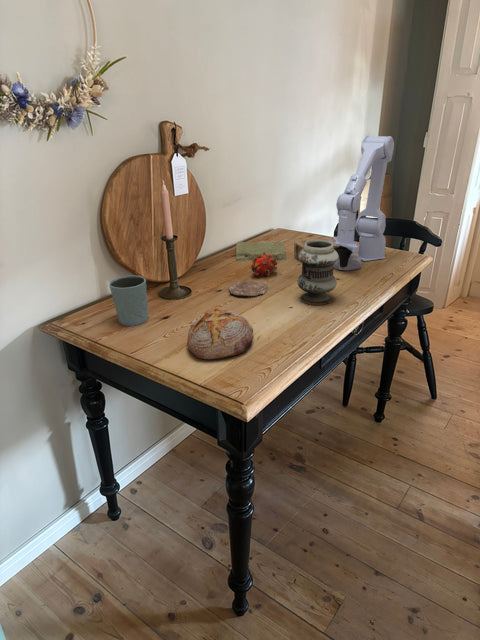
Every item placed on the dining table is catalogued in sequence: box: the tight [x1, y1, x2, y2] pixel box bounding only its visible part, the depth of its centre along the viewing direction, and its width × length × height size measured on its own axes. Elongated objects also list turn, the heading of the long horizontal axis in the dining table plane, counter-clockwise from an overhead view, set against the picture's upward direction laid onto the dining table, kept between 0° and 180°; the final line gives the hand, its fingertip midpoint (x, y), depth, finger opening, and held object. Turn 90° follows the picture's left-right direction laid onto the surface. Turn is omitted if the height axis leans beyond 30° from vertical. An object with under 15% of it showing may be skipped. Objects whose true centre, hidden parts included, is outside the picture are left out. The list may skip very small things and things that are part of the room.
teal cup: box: [108, 275, 149, 327], centre depth 136 cm, size 10×10×12 cm
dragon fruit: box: [250, 253, 278, 277], centre depth 168 cm, size 8×8×12 cm
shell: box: [228, 280, 268, 299], centre depth 155 cm, size 12×13×4 cm
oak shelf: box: [293, 235, 340, 264], centre depth 182 cm, size 20×12×6 cm, turn 109°
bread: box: [186, 308, 254, 360], centre depth 121 cm, size 16×20×10 cm
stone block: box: [333, 252, 362, 271], centre depth 175 cm, size 12×5×10 cm
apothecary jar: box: [296, 239, 338, 306], centre depth 144 cm, size 12×12×18 cm
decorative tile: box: [235, 241, 287, 262], centre depth 191 cm, size 19×20×4 cm
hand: (343, 266), depth 169 cm, fingers closed, pressing on stone block
